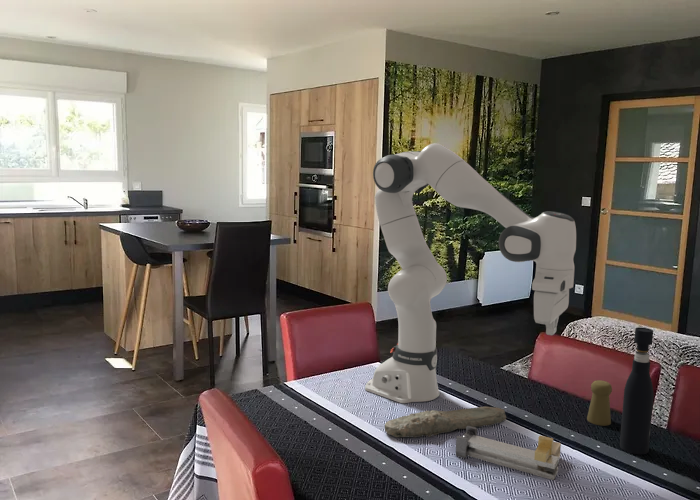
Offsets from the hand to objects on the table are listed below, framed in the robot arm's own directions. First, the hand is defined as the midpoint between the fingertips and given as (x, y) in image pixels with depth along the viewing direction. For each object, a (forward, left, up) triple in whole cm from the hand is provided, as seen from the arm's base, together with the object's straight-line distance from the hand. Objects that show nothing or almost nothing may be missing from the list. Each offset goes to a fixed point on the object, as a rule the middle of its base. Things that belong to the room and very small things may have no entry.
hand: (551, 333), depth 146 cm
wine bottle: (+20, +6, -27) cm, 34 cm away
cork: (+10, +18, -27) cm, 34 cm away
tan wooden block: (+4, -12, -27) cm, 30 cm away
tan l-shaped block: (+4, -18, -23) cm, 30 cm away
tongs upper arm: (-4, -18, -25) cm, 31 cm away
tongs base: (-4, -18, -27) cm, 33 cm away
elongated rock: (-23, -8, -28) cm, 37 cm away
